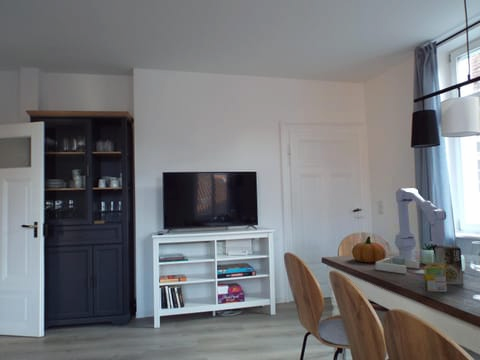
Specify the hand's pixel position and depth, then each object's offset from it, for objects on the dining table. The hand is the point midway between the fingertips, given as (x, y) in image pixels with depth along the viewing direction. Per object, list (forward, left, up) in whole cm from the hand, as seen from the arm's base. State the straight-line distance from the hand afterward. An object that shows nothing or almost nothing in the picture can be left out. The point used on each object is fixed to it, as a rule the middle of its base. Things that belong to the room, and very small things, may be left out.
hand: (439, 260), depth 165 cm
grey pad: (0, -6, -7) cm, 9 cm away
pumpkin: (-12, -43, -7) cm, 45 cm away
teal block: (0, -20, -7) cm, 21 cm away
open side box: (0, -20, -7) cm, 21 cm away
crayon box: (+32, +8, -7) cm, 34 cm away
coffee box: (+14, +8, -7) cm, 18 cm away
